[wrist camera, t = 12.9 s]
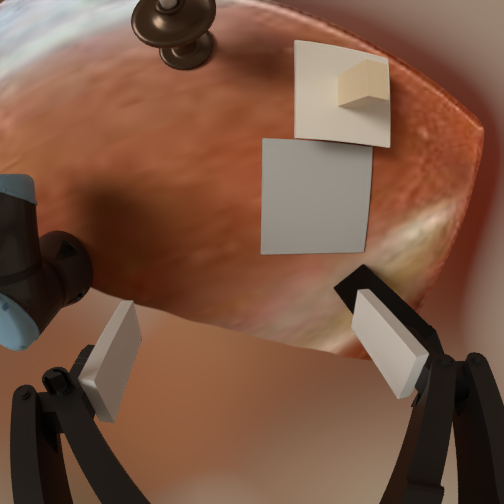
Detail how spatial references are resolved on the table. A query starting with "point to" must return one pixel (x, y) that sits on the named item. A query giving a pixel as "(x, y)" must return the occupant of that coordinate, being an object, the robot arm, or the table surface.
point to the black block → (385, 302)
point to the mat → (314, 196)
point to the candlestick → (176, 29)
